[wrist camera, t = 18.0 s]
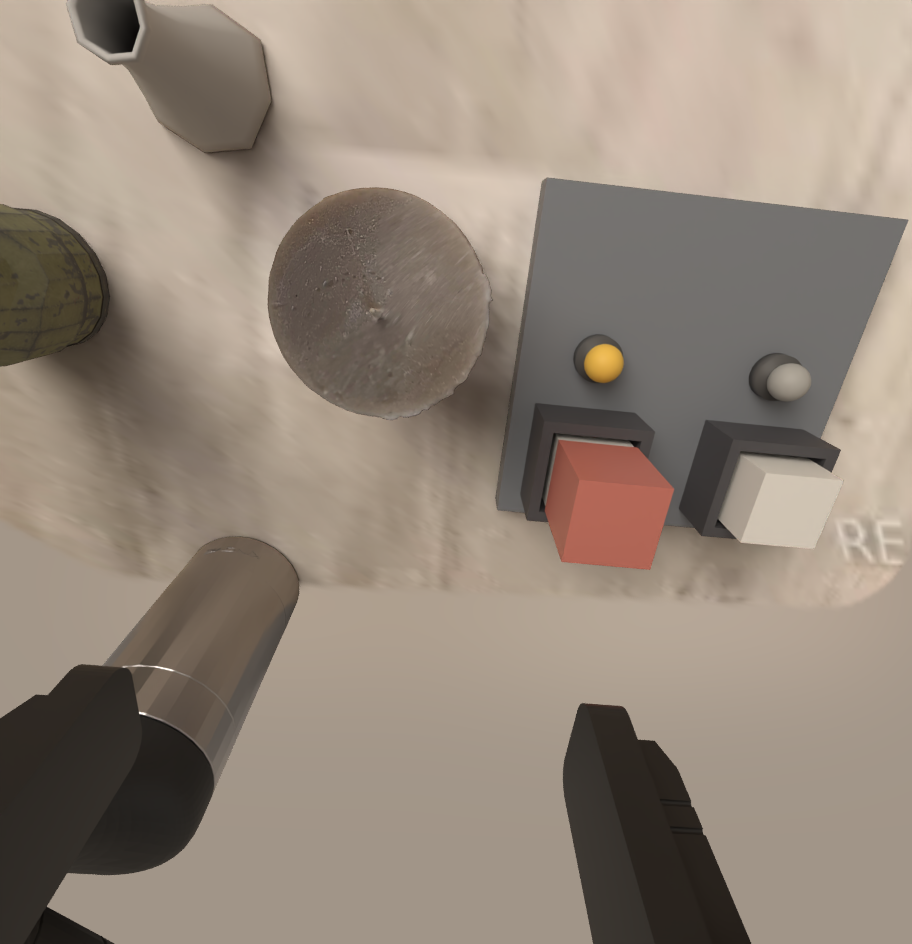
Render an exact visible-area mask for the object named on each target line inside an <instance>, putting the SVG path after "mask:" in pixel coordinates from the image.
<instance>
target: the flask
mask: <svg viewBox="0 0 912 944" xmlns="http://www.w3.org/2000/svg"><path fill="white" fill-rule="evenodd" d="M66 5H67V9H68V12H69V16H70V19H71V23H72V26H73V29H74V33H75V36H76V40H77V43H79V44H80V45H82V46H83V47H84V48H86V49H87V50H89V51H90V52H92V53H93V54H95V55H96V56H98V57H99V58H101V59H102V60H104V61H105V62H107V63H108V64H110V65H121V64H122V65H123V66H124V67H126V68H127V69H128V70H129V72H130V73H131V75H132V77H133V78H134V80H135V82H136V83H137V85H138V86H139V88H140V90H141V91H142V93H143V95H144V96H145V98H146V100H147V102H148V104H149V106H150V108H151V110H152V112H153V114H154V115H155V117H156V119H157V120H158V122H159V123H160V124H162V125H164V126H165V127H167V128H168V129H170V130H171V131H173V132H174V133H176V134H177V135H179V136H180V137H182V138H183V139H185V140H186V141H188V142H189V143H191V144H192V145H194V146H195V147H197V148H198V149H200V150H201V151H203V152H204V153H205V152H217V151H228V150H240V149H251V148H252V146H253V143H254V141H255V138H256V136H257V134H258V131H259V129H260V127H261V124H262V122H263V119H264V117H265V115H266V112H267V110H268V107H269V105H270V103H271V96H270V90H269V84H268V79H267V73H266V68H265V62H264V57H263V51H262V45H261V40H260V39H259V38H258V37H256V36H255V35H254V34H252V33H251V32H249V31H248V30H247V29H245V28H244V27H243V26H241V25H240V24H238V23H237V22H236V21H234V20H233V19H232V18H230V17H229V16H227V15H226V14H225V13H223V12H222V11H221V10H219V9H218V8H216V7H215V6H214V5H211V4H204V5H191V6H159V5H154V4H151V3H149V2H146V1H144V0H67V3H66Z"/></svg>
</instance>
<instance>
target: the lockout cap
mask: <svg viewBox="0 0 912 944" xmlns="http://www.w3.org/2000/svg"><path fill="white" fill-rule="evenodd" d="M673 492H674V488H673V487H672V486H671V485H670V484H669V483H668V481H667V480H666V479H665V478H664V477H663V476H662V475H661V473H660V472H659V471H658V470H657V469H656V468H655V467H654V466H653V464H652V463H651V462H650V461H649V460H648V459H647V458H646V457H645V455H644V454H643V453H642V452H641V451H640V450H639V449H638V448H637V447H627V446H617V445H607V444H597V443H586V442H576V441H566V440H558V445H557V450H556V455H555V460H554V466H553V471H552V476H551V481H550V486H549V491H548V496H547V502H546V507H545V513H546V516H547V519H548V522H549V525H550V528H551V531H552V534H553V537H554V540H555V543H556V546H557V549H558V552H559V556H560V559H561V562H570V563H581V564H592V565H604V566H615V567H626V568H637V569H649V570H650V568H651V565H652V561H653V558H654V555H655V552H656V548H657V545H658V542H659V538H660V535H661V532H662V528H663V525H664V522H665V518H666V515H667V512H668V508H669V505H670V502H671V498H672V495H673Z"/></svg>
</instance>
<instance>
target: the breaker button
mask: <svg viewBox="0 0 912 944" xmlns="http://www.w3.org/2000/svg"><path fill="white" fill-rule="evenodd" d="M843 482H844V480H842V479H841V478H839V477H838V476H836V475H834V474H833V473H831V472H829V471H828V470H826V469H825V468H823V467H821V466H820V465H818V464H816V463H815V462H813V461H812V460H810V459H808V458H807V457H799V456H789V455H778V454H768V453H757V452H747V451H740V454H739V457H738V460H737V463H736V466H735V469H734V472H733V475H732V478H731V481H730V484H729V487H728V490H727V492H726V495H725V498H724V501H723V504H722V507H721V510H720V513H719V516H718V519H719V520H720V522H721V523H722V524H723V525H724V526H725V527H726V528H727V529H728V530H729V531H730V532H731V533H732V534H733V535H734V536H735V537H736V538H737V539H738V541H739V542H740V543H751V544H762V545H773V546H784V547H796V548H807V549H814V548H815V546H816V544H817V541H818V539H819V537H820V535H821V532H822V530H823V528H824V525H825V523H826V521H827V519H828V516H829V514H830V512H831V509H832V507H833V505H834V503H835V500H836V498H837V496H838V493H839V491H840V489H841V486H842V484H843Z"/></svg>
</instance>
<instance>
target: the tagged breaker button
mask: <svg viewBox="0 0 912 944" xmlns="http://www.w3.org/2000/svg"><path fill="white" fill-rule="evenodd" d="M558 440H566V441H576V442H586V443H597V444H607V445H617V446H627V447H634V446H633V445H632V444H631V443H630V442H629V441H628V440H622V439H612V438H601V437H591V436H581V435H570V434H560V433H553V439H552V444H551V449H550V455H549V460H548V466H547V471H546V476H545V482H544V487H543V493H542V498H543V500H544V503H545V506H546V502H547V496H548V491H549V486H550V481H551V476H552V471H553V466H554V460H555V455H556V450H557V445H558Z"/></svg>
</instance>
